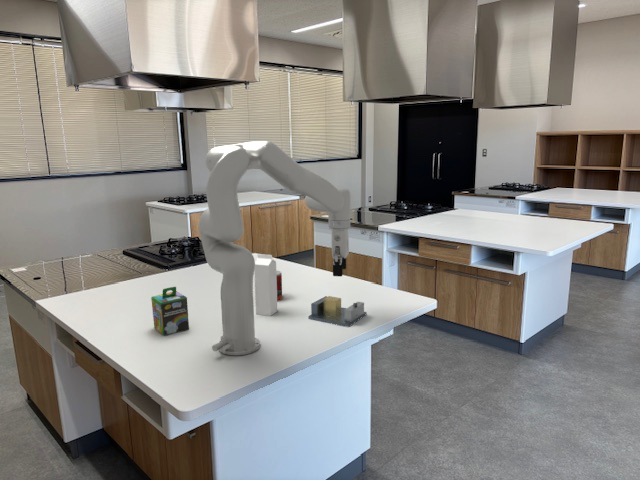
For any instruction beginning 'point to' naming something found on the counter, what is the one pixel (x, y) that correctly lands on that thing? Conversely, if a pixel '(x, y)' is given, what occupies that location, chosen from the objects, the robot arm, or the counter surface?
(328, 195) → the robot arm
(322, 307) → the vise
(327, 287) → the counter surface
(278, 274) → the canned food
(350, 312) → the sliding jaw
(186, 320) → the chalk box
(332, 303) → the brass block
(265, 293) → the milk
